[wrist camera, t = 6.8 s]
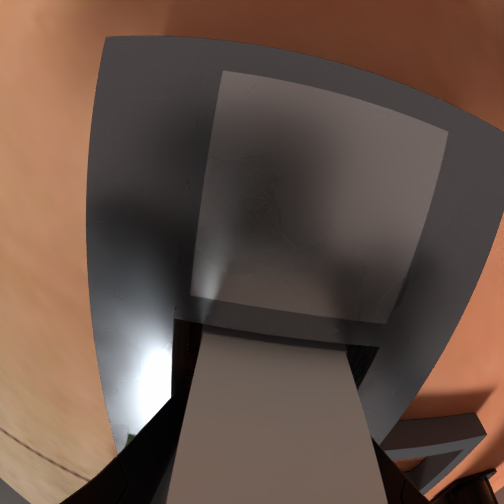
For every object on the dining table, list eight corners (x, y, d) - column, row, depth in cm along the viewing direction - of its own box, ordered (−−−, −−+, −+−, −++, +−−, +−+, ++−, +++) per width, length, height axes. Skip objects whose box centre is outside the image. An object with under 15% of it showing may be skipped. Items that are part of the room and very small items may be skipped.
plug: (334, 313, 10) (407, 577, 3) (302, 395, 12) (322, 601, 4) (211, 293, 10) (147, 585, 2) (200, 381, 12) (162, 594, 4)
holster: (475, 412, 15) (487, 434, 13) (416, 476, 18) (422, 495, 16) (373, 421, 14) (382, 450, 12) (323, 485, 17) (326, 509, 16)
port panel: (453, 130, 9) (530, 144, 5) (314, 459, 16) (321, 514, 12) (154, 60, 8) (97, 33, 5) (142, 437, 15) (126, 492, 12)
